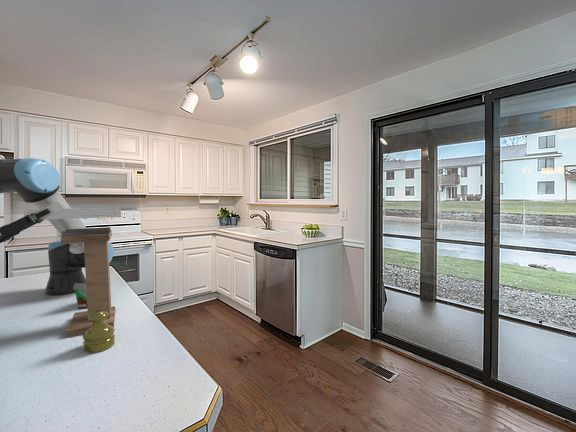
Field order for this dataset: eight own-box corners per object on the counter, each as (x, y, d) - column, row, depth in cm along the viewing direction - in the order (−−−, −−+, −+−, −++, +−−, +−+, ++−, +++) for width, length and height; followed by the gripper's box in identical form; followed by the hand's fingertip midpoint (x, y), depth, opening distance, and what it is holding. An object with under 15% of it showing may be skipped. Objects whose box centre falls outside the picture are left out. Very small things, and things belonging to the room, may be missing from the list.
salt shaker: (86, 343, 83) (85, 308, 82) (117, 338, 86) (115, 304, 85) (80, 356, 76) (78, 318, 76) (113, 349, 79) (111, 314, 79)
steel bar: (27, 219, 86) (26, 209, 86) (120, 216, 97) (120, 207, 97) (24, 220, 83) (23, 209, 83) (120, 217, 95) (120, 207, 95)
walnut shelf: (75, 318, 100) (69, 227, 98) (115, 311, 106) (111, 225, 104) (66, 337, 86) (60, 232, 84) (113, 328, 92) (108, 229, 90)
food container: (88, 311, 107) (87, 284, 106) (74, 310, 108) (72, 283, 107) (114, 299, 119) (113, 275, 118) (102, 298, 120) (100, 275, 119)
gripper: (-6, 255, 88) (75, 213, 97) (-32, 265, 74) (66, 216, 83) (-25, 234, 86) (60, 194, 95) (-55, 241, 71) (48, 193, 80)
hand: (62, 204), depth 89 cm, fingers closed on steel bar, 3 cm apart
